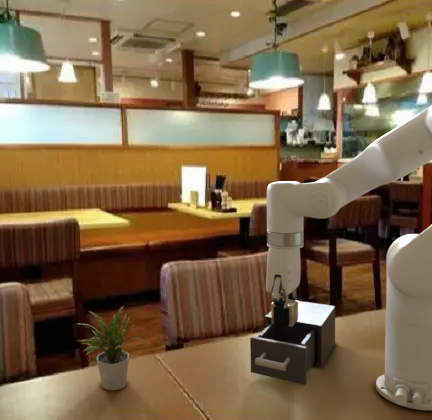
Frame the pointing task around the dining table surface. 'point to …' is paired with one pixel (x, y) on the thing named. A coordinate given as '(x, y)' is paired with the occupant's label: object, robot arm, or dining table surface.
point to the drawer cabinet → (316, 326)
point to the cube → (292, 312)
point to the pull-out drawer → (284, 352)
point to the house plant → (110, 352)
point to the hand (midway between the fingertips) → (285, 320)
